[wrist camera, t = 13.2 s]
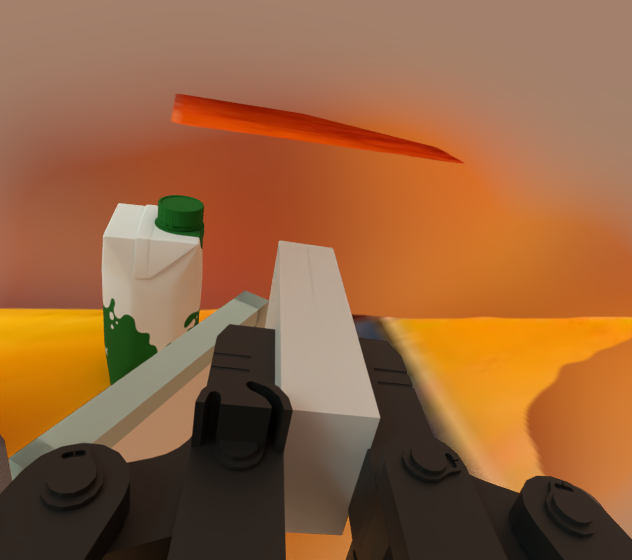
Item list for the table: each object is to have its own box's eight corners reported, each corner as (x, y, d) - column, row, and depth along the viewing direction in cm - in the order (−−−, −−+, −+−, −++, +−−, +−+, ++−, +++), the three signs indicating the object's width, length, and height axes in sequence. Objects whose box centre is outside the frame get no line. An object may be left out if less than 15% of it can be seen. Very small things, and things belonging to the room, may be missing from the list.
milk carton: (192, 400, 48) (207, 225, 39) (98, 400, 46) (90, 213, 36) (195, 348, 56) (208, 189, 46) (114, 345, 53) (111, 178, 44)
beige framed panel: (68, 658, 27) (43, 482, 20) (41, 637, 28) (8, 458, 20) (245, 443, 43) (269, 300, 36) (225, 432, 44) (245, 290, 36)
